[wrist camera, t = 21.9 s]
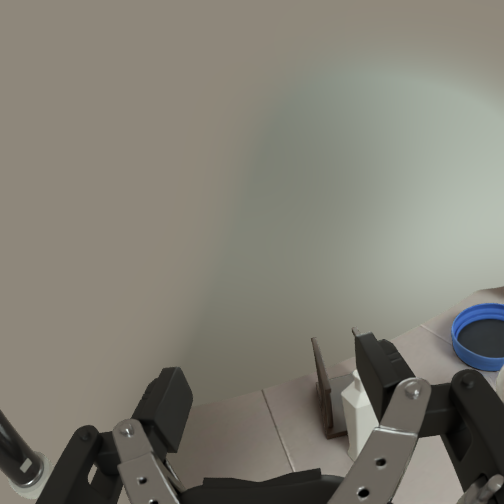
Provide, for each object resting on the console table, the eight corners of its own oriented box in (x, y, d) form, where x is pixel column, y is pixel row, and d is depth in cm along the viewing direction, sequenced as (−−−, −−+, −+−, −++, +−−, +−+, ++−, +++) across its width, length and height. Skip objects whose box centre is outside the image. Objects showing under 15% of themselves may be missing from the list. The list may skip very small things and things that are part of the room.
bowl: (434, 360, 38) (436, 344, 37) (466, 311, 46) (467, 297, 45) (519, 384, 22) (526, 367, 21) (533, 325, 30) (537, 309, 30)
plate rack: (382, 424, 30) (386, 372, 27) (327, 439, 31) (321, 390, 28) (361, 375, 41) (359, 325, 39) (316, 387, 42) (308, 338, 40)
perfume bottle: (345, 439, 29) (341, 360, 26) (377, 437, 28) (382, 355, 25) (342, 466, 25) (337, 390, 22) (376, 464, 24) (385, 386, 20)
